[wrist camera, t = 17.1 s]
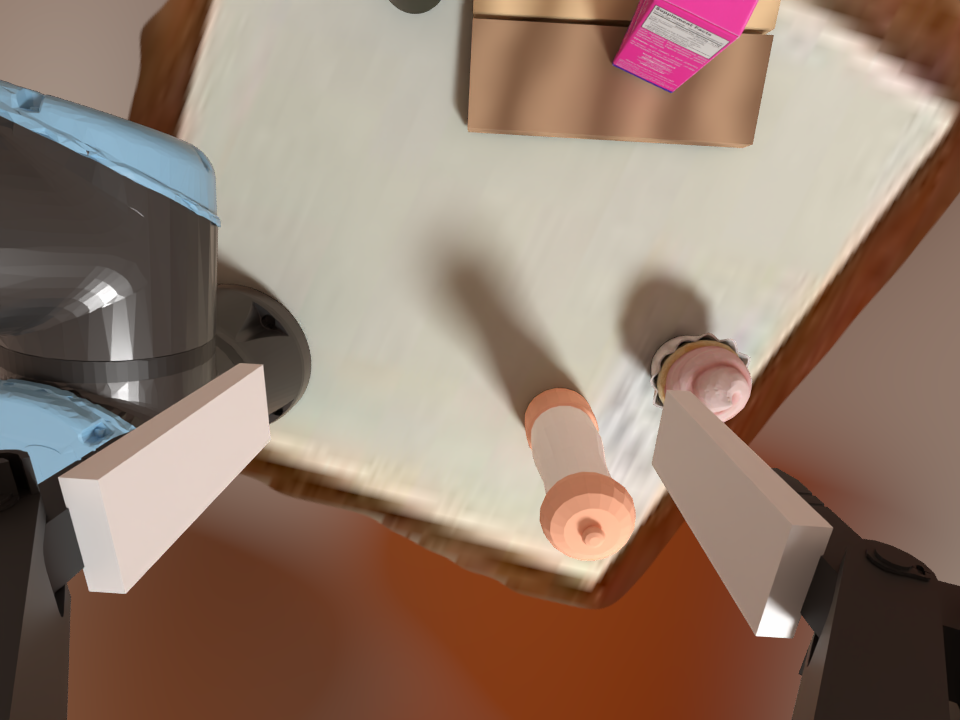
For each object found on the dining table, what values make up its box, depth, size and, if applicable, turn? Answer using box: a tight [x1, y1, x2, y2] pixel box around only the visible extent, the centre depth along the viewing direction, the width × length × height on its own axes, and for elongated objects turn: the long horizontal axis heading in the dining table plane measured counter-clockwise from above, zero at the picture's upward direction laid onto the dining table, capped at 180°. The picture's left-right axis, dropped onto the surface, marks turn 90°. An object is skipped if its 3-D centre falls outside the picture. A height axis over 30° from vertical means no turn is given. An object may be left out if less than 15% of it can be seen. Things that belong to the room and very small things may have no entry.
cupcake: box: [650, 333, 753, 422], centre depth 43 cm, size 9×9×10 cm
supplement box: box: [612, 0, 759, 93], centre depth 32 cm, size 6×6×12 cm
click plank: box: [468, 18, 774, 148], centre depth 39 cm, size 24×8×2 cm, turn 87°
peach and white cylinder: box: [525, 388, 636, 561], centre depth 41 cm, size 7×7×19 cm
